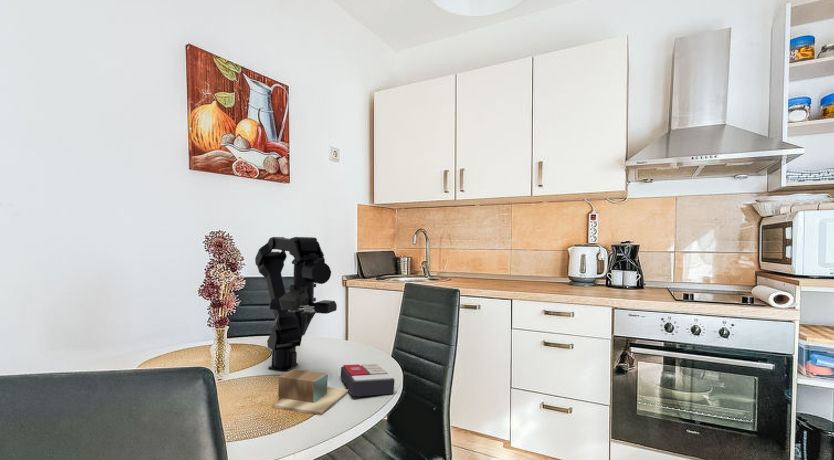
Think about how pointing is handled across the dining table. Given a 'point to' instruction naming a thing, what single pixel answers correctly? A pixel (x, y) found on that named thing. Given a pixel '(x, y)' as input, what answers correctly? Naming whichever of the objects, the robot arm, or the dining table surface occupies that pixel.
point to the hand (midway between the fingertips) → (302, 335)
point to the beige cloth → (313, 408)
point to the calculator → (367, 380)
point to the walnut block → (302, 385)
